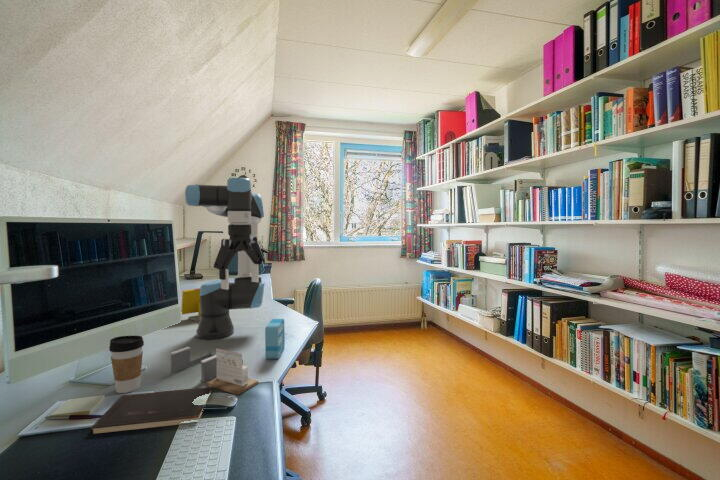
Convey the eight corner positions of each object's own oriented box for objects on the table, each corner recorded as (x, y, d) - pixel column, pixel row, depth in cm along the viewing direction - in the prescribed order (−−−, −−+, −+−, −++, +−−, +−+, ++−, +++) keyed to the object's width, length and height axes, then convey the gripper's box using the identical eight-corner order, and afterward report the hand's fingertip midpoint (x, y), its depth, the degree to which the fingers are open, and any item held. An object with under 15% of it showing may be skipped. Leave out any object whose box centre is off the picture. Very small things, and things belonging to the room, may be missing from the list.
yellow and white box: (221, 313, 188) (221, 284, 188) (226, 316, 182) (226, 286, 181) (181, 319, 176) (180, 288, 175) (185, 323, 169) (184, 290, 169)
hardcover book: (198, 425, 85) (198, 416, 85) (91, 437, 80) (90, 427, 80) (212, 393, 100) (212, 386, 100) (122, 402, 96) (122, 394, 96)
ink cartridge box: (222, 376, 109) (221, 345, 108) (248, 383, 104) (248, 351, 103) (215, 379, 107) (215, 347, 106) (242, 387, 101) (242, 354, 101)
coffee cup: (114, 384, 105) (112, 335, 104) (147, 379, 108) (145, 332, 107) (107, 397, 97) (105, 344, 96) (142, 392, 100) (141, 340, 100)
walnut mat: (206, 385, 105) (206, 382, 105) (227, 374, 112) (227, 372, 112) (237, 394, 99) (237, 392, 99) (258, 383, 106) (258, 380, 106)
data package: (278, 360, 124) (277, 327, 123) (265, 360, 123) (264, 327, 123) (284, 348, 135) (284, 317, 135) (273, 348, 135) (272, 317, 135)
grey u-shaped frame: (170, 372, 114) (170, 352, 113) (210, 356, 127) (210, 338, 127) (204, 382, 106) (203, 361, 106) (243, 364, 120) (242, 345, 120)
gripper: (217, 225, 106) (218, 293, 108) (273, 223, 128) (273, 280, 130) (200, 224, 110) (202, 291, 111) (257, 222, 132) (258, 278, 133)
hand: (240, 285), depth 121 cm, fingers open, 13 cm apart
